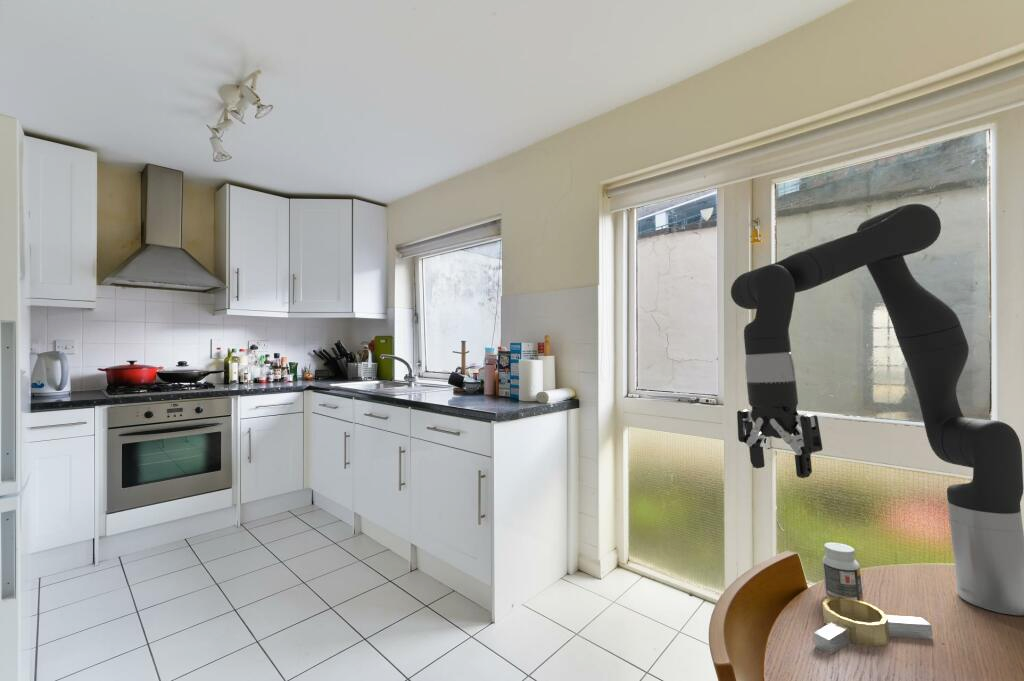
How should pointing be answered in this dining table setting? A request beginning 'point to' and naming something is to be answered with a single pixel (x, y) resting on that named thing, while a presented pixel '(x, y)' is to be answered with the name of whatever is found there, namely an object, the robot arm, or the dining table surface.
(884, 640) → the stand
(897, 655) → the dining table surface
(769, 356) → the robot arm
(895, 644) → the dining table surface
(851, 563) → the pill bottle
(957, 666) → the dining table surface
